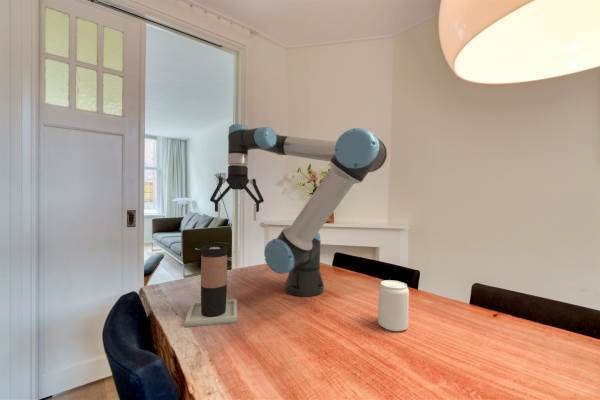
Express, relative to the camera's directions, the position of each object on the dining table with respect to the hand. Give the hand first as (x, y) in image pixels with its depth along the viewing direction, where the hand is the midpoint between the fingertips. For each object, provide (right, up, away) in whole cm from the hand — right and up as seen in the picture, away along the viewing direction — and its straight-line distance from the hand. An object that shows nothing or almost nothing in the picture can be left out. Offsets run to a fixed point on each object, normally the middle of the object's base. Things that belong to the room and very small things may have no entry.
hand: (237, 220), depth 106 cm
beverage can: (+51, -28, -28) cm, 65 cm away
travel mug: (-2, -26, -23) cm, 35 cm away
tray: (-2, -27, -23) cm, 35 cm away
